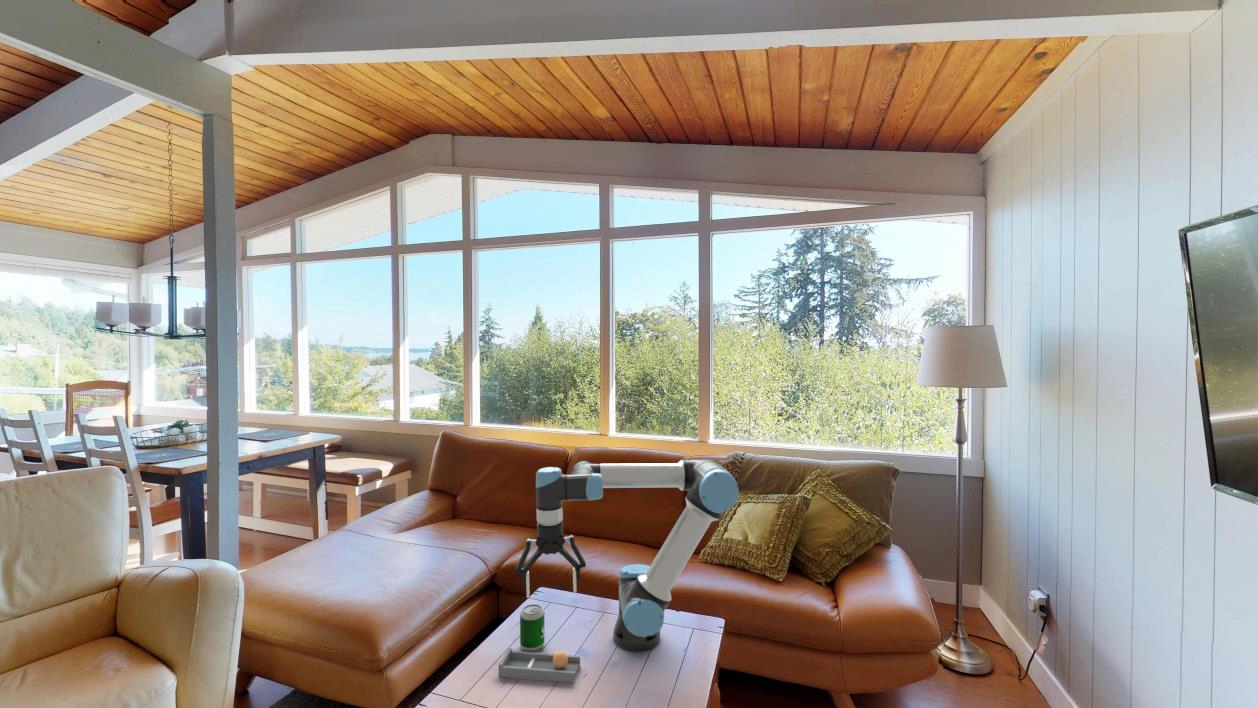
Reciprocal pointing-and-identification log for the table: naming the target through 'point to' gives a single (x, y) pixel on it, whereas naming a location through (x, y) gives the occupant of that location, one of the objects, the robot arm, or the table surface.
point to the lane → (537, 666)
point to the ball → (560, 660)
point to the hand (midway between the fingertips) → (551, 593)
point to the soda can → (532, 627)
